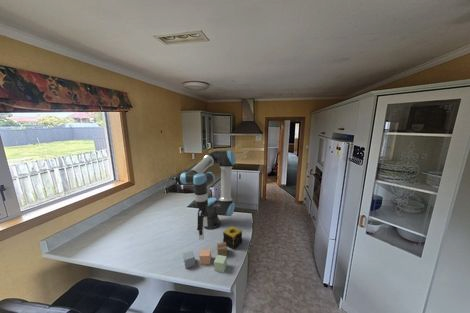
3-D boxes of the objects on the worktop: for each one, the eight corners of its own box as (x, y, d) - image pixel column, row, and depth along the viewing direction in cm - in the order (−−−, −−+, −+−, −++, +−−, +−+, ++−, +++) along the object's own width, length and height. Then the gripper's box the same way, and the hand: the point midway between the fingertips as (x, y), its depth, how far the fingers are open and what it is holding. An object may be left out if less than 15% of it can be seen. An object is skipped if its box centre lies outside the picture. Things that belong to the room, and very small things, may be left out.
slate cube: (184, 262, 114) (183, 253, 112) (193, 259, 116) (192, 250, 115) (185, 268, 108) (184, 260, 107) (195, 265, 111) (194, 256, 110)
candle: (223, 244, 129) (222, 231, 127) (232, 237, 137) (231, 225, 135) (233, 250, 123) (232, 237, 121) (242, 242, 130) (242, 230, 128)
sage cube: (217, 263, 112) (217, 254, 111) (227, 264, 110) (226, 256, 109) (214, 270, 106) (213, 261, 105) (223, 272, 104) (223, 263, 103)
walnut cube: (217, 251, 122) (216, 243, 121) (226, 249, 123) (225, 242, 122) (218, 257, 116) (217, 249, 115) (227, 256, 117) (226, 248, 116)
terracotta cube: (202, 257, 117) (201, 249, 116) (211, 257, 117) (210, 249, 116) (200, 264, 111) (199, 256, 110) (210, 264, 111) (209, 255, 110)
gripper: (199, 192, 119) (201, 221, 122) (189, 209, 94) (192, 245, 98) (210, 192, 119) (212, 221, 122) (204, 208, 94) (206, 245, 98)
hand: (203, 232), depth 110 cm, fingers open, 13 cm apart
